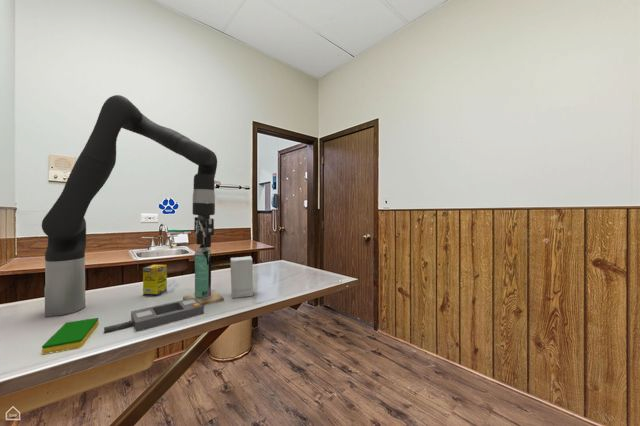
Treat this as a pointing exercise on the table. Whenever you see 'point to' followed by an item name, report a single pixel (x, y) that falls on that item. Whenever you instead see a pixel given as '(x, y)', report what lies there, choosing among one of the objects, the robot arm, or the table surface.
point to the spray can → (202, 273)
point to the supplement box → (154, 280)
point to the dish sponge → (70, 335)
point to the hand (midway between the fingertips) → (203, 245)
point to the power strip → (150, 318)
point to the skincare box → (241, 277)
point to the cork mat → (214, 298)
